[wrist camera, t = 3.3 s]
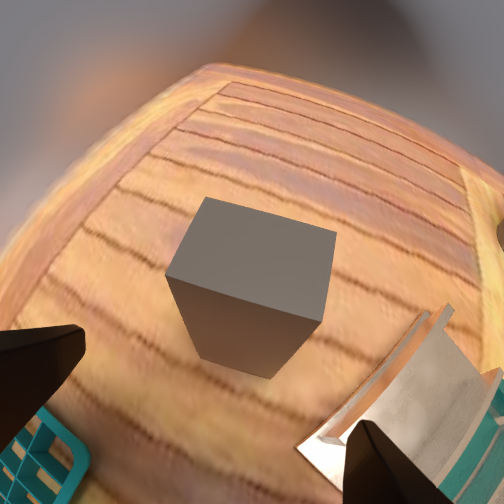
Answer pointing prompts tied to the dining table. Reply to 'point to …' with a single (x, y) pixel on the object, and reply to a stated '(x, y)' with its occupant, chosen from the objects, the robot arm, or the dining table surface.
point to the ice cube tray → (42, 464)
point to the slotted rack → (426, 415)
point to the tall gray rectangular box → (250, 285)
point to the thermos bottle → (501, 233)
